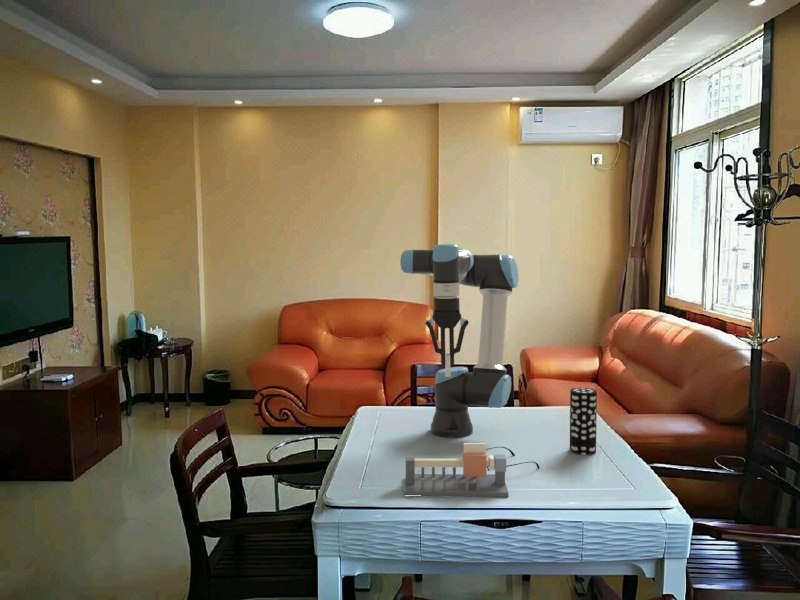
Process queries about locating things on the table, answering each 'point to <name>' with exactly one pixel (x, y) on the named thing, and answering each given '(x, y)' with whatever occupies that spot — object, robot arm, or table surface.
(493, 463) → the cream long bar
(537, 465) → the eyeglasses
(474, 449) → the banded orange cube
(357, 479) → the table surface
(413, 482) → the cable comb board
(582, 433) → the white-spotted black cylinder
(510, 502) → the table surface
